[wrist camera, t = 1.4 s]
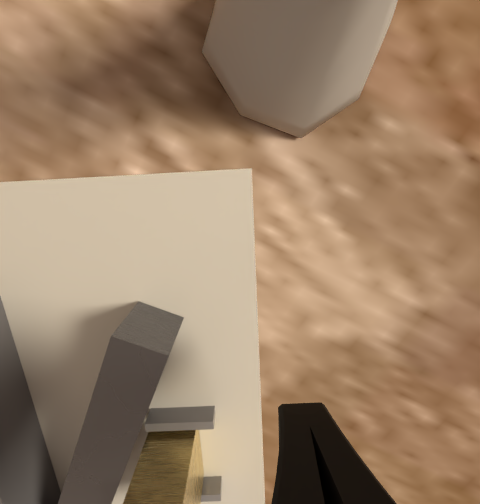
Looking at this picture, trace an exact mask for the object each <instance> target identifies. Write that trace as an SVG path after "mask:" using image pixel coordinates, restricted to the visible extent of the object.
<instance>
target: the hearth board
mask: <svg viewBox="0 0 480 504" xmlns="http://www.w3.org/2000/svg"><path fill="white" fill-rule="evenodd" d="M138 301H139V302H142V303H145V304H148V305H151V306H153V307H156V308H159V309H162V310H165V311H167V312H170V313H173V314H176V315H179V316H181V317H184V319H183V321H182V324H181V326H180V329H179V332H178V334H177V337H176V339H175V342H174V345H173V347H172V350H171V352H170V355H169V357H168V360H167V363H166V365H165V368H164V370H163V373H162V375H161V378H160V381H159V383H158V386H157V388H156V391H155V393H154V396H153V399H152V401H151V404H150V406H149V409H148V411H147V414H146V417H145V419H144V422H143V424H142V427H141V429H140V432H139V435H138V437H137V440H136V442H135V445H134V447H133V450H132V453H131V455H130V458H129V460H128V463H127V465H126V468H125V471H124V473H123V476H122V478H121V481H120V483H119V486H118V489H117V491H116V494H115V496H114V499H113V501H112V504H123V502H124V499H125V496H126V493H127V491H128V488H129V485H130V482H131V479H132V477H133V474H134V471H135V468H136V465H137V463H138V460H139V457H140V454H141V451H142V449H143V446H144V443H145V440H146V437H147V435H148V432H155V431H181V430H199V434H200V443H201V451H202V460H203V468H204V479H203V487H202V495H201V503H200V504H265V490H264V465H263V440H262V415H261V389H260V364H259V339H258V314H257V289H256V264H255V239H254V214H253V189H252V168H250V169H232V170H214V171H196V172H178V173H159V174H141V175H123V176H105V177H87V178H69V179H51V180H33V181H14V182H0V504H58V502H59V499H60V495H61V492H62V489H63V486H64V483H65V480H66V476H67V473H68V470H69V467H70V464H71V461H72V458H73V454H74V451H75V448H76V445H77V442H78V439H79V435H80V432H81V429H82V426H83V423H84V420H85V416H86V413H87V410H88V407H89V404H90V401H91V397H92V394H93V391H94V388H95V385H96V382H97V378H98V375H99V372H100V369H101V366H102V363H103V359H104V356H105V353H106V350H107V347H108V344H109V340H110V337H111V335H112V334H113V333H114V332H115V330H116V329H117V328H118V327H119V325H120V324H121V323H122V322H123V320H124V319H125V318H126V317H127V315H128V314H129V313H130V312H131V310H132V309H133V308H134V306H135V305H136V304H137V303H138Z"/></svg>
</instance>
